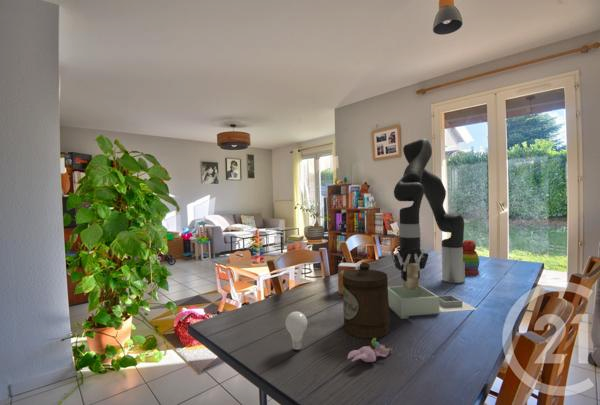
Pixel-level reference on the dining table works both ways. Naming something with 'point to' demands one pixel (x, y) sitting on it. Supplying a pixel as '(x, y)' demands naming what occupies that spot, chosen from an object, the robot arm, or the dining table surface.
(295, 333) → the lightbulb
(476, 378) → the dining table surface
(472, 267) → the stacking bear
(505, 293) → the dining table surface
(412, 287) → the strut
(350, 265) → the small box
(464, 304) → the socket
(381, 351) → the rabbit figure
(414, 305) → the bin
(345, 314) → the wooden container
